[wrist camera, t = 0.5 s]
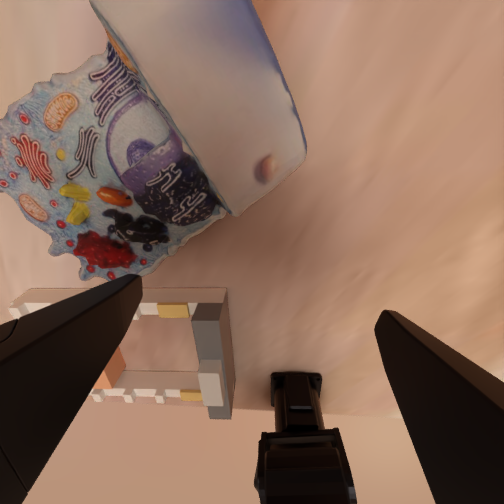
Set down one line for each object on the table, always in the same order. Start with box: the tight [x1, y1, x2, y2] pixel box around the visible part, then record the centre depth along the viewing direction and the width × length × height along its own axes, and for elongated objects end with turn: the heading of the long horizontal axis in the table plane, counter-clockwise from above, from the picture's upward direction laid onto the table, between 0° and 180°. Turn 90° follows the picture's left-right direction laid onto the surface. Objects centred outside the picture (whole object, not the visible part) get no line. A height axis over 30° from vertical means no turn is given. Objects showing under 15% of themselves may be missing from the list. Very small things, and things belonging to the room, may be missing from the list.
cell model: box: [0, 0, 307, 281], centre depth 16 cm, size 13×11×20 cm
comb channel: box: [8, 288, 235, 419], centre depth 27 cm, size 15×22×6 cm
